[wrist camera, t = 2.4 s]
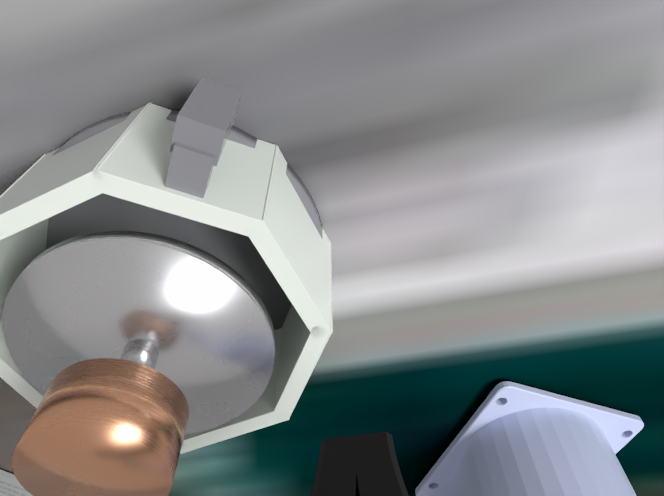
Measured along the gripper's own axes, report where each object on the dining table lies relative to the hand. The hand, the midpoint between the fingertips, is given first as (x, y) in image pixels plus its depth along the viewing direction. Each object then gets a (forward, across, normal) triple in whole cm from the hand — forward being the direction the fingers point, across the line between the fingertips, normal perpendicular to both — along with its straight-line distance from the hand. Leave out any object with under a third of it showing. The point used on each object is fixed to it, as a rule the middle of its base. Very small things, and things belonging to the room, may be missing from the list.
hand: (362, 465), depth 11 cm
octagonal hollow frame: (+10, +6, 0) cm, 12 cm away
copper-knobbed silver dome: (+5, +6, 0) cm, 8 cm away
